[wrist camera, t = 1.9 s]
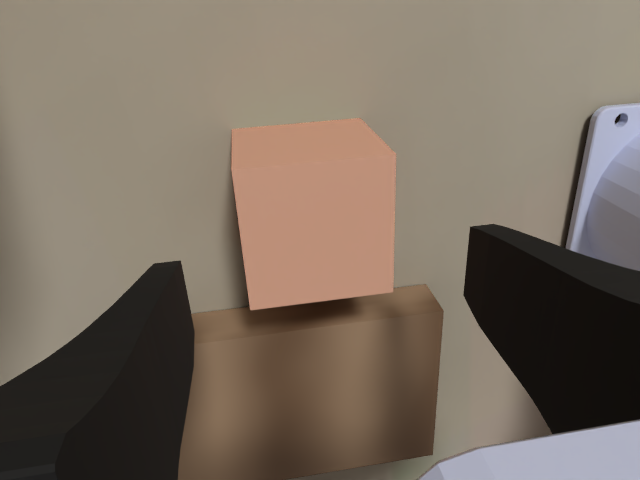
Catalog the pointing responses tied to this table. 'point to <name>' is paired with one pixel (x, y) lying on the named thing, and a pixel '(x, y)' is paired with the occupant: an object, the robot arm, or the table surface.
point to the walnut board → (312, 387)
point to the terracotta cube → (314, 211)
